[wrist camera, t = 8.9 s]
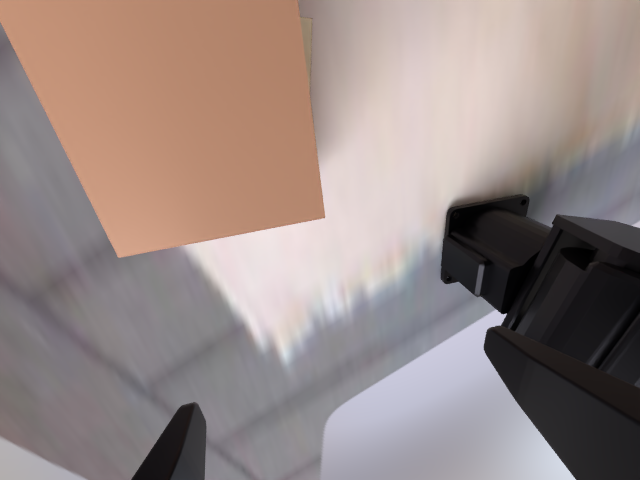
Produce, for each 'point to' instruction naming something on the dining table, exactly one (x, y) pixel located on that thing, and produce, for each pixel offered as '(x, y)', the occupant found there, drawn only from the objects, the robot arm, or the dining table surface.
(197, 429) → the robot arm
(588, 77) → the dining table surface
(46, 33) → the terracotta cube
